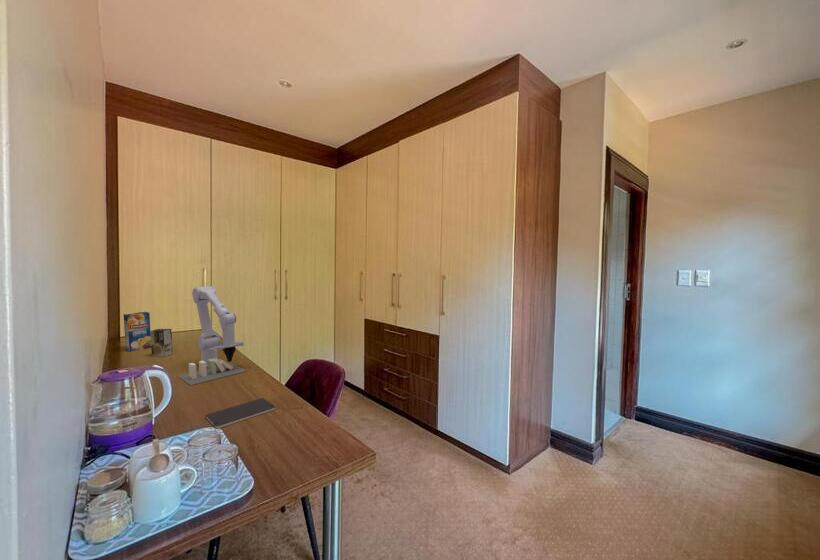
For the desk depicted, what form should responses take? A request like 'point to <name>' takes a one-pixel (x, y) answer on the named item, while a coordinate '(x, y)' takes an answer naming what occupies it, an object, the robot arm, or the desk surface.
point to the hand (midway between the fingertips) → (229, 361)
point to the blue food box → (137, 331)
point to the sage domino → (211, 366)
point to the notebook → (239, 412)
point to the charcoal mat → (211, 377)
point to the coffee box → (161, 342)
